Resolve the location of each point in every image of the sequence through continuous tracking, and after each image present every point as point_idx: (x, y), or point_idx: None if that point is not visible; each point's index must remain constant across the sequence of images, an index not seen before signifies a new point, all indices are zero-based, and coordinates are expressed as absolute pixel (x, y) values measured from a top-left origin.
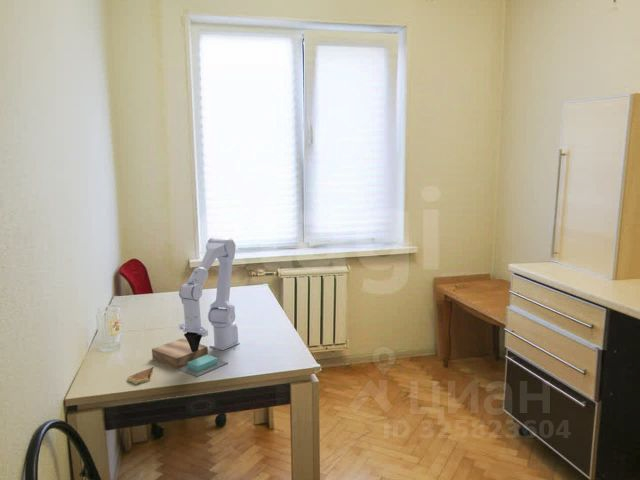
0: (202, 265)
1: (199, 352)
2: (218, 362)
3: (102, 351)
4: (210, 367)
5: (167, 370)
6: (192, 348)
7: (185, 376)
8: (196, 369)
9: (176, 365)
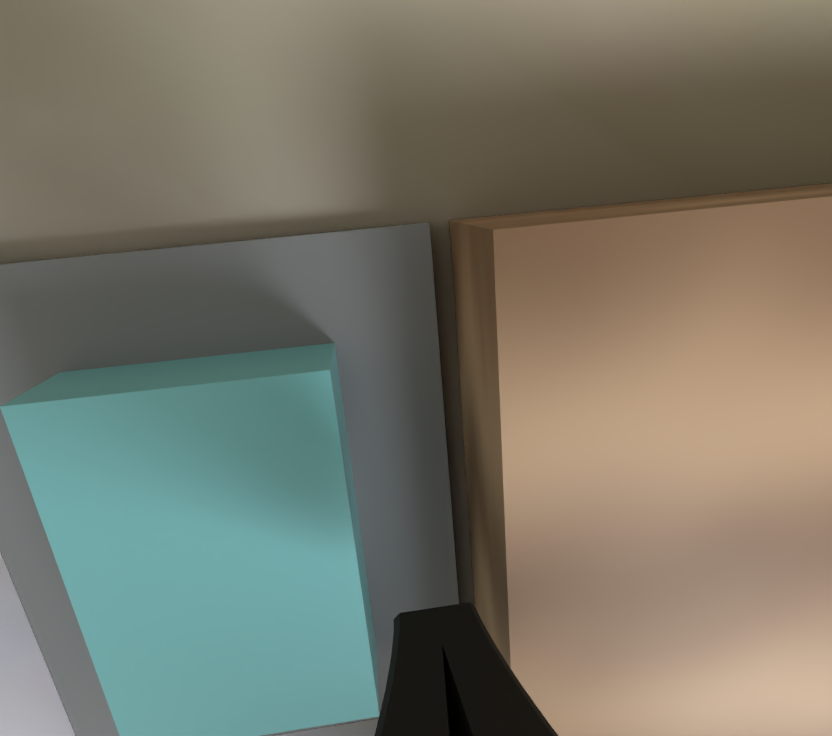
0: None
1: None
2: None
3: None
4: None
5: (531, 66)
6: (410, 674)
7: (60, 143)
8: (84, 376)
9: (483, 220)
